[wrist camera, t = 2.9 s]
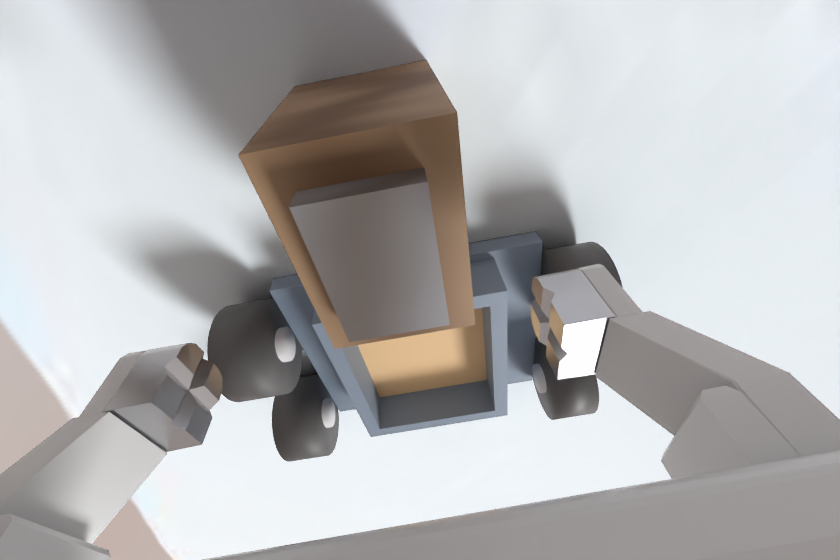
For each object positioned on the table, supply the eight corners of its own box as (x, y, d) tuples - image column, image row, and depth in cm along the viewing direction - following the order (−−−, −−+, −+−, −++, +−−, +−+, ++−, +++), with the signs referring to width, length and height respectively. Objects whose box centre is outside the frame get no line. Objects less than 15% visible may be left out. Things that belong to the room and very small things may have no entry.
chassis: (588, 222, 18) (643, 285, 15) (564, 362, 26) (596, 427, 22) (224, 287, 19) (185, 363, 15) (306, 404, 27) (293, 475, 23)
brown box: (426, 59, 13) (463, 123, 7) (446, 221, 18) (480, 342, 12) (295, 86, 13) (227, 168, 7) (348, 239, 18) (332, 367, 12)
